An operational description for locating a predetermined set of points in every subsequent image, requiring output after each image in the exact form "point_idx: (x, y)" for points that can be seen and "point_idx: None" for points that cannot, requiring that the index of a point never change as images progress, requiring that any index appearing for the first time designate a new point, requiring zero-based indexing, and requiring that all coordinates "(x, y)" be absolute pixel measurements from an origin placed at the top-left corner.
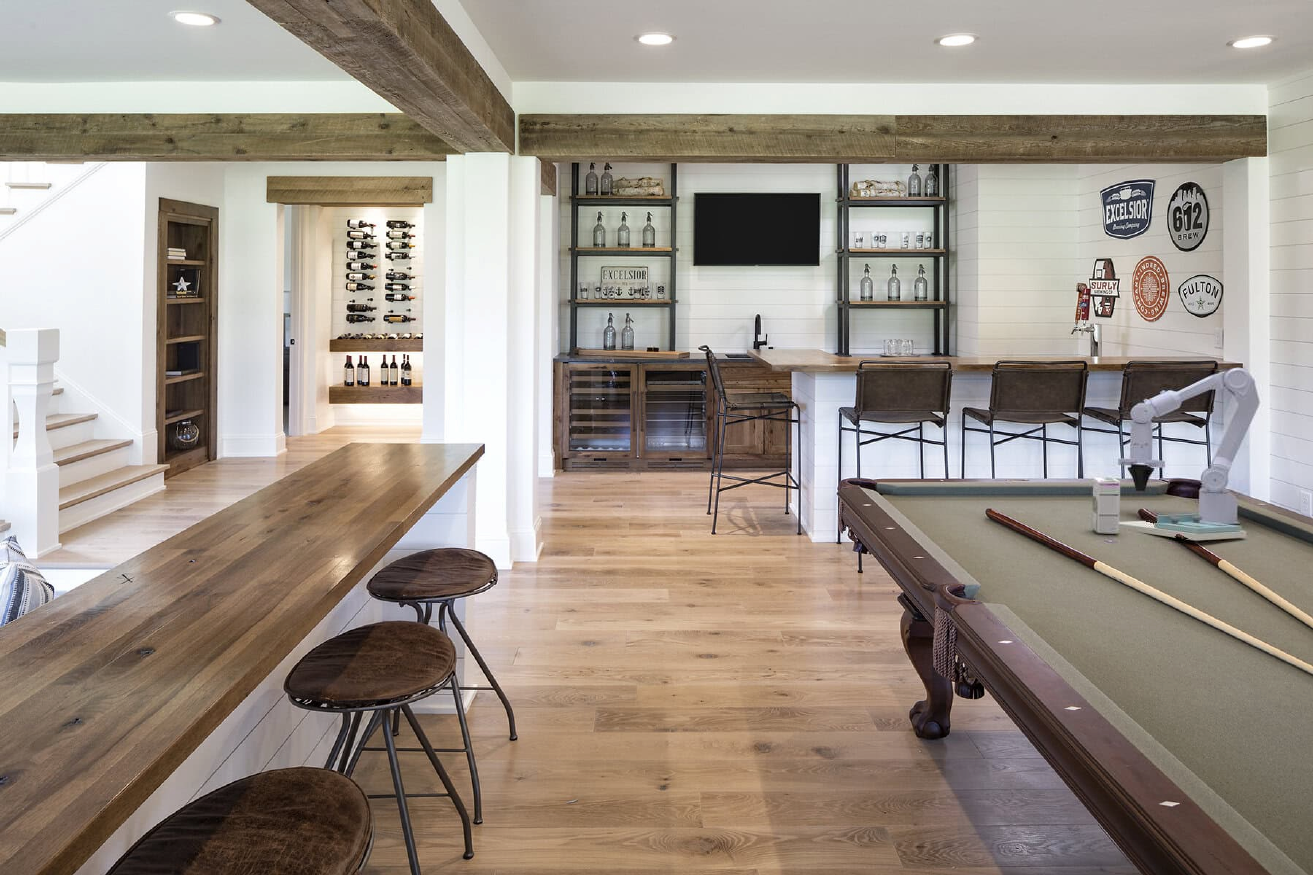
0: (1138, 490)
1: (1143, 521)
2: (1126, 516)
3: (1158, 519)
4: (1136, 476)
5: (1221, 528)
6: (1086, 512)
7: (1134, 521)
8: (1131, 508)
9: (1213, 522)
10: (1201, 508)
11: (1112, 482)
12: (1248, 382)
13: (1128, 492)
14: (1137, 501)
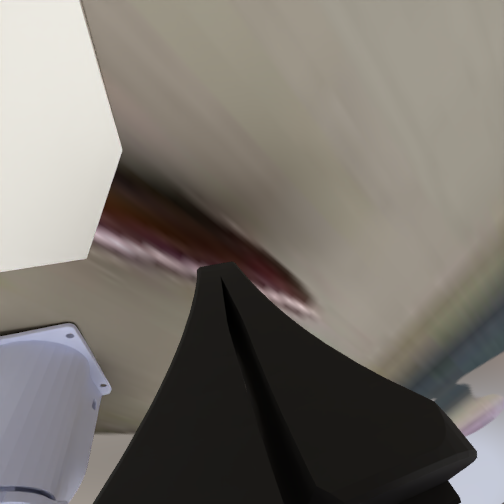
0: (210, 267)
1: (93, 139)
2: (235, 160)
3: None
4: (256, 363)
5: None
6: (402, 23)
7: (92, 80)
8: (332, 282)
9: None
10: (3, 390)
11: None
12: None
13: (443, 377)
14: (378, 347)
